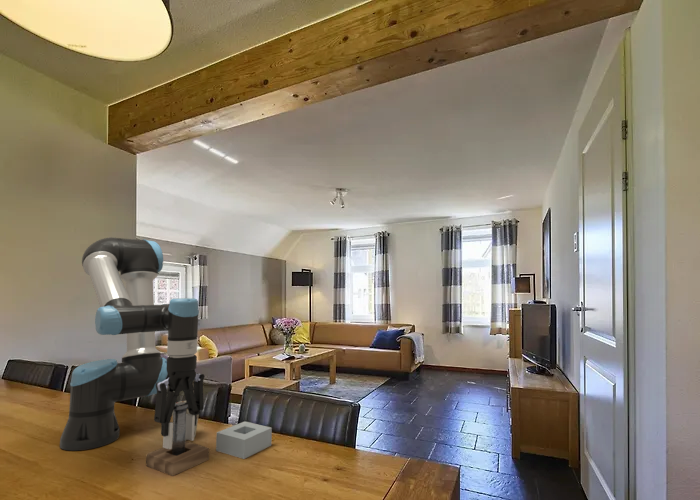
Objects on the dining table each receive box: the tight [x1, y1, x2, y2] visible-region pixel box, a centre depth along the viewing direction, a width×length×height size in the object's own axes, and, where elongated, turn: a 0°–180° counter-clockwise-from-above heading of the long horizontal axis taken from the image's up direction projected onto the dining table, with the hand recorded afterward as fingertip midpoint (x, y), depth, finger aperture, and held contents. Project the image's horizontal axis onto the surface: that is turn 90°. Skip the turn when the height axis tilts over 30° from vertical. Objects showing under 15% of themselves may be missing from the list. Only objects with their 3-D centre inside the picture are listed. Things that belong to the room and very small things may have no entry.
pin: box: [172, 401, 189, 456], centre depth 106 cm, size 4×4×15 cm
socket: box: [215, 421, 273, 460], centre depth 116 cm, size 11×11×5 cm
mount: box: [145, 440, 210, 477], centre depth 106 cm, size 11×11×3 cm
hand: (178, 443), depth 106 cm, fingers open, 6 cm apart
